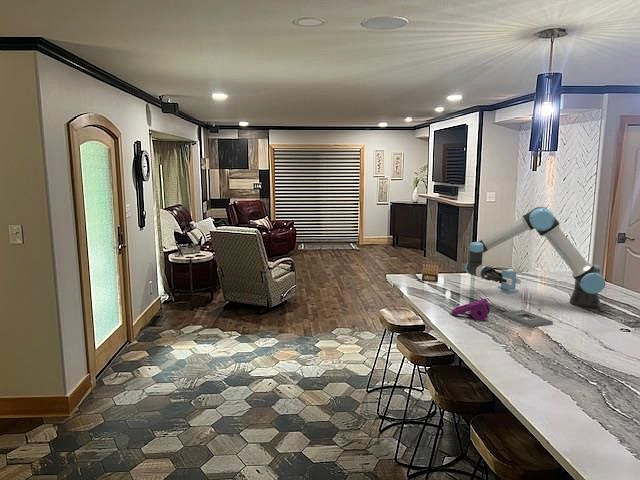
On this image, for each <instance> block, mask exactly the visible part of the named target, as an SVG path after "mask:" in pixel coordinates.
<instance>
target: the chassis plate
mask: <svg viewBox="0 0 640 480" xmlns="http://www.w3.org/2000/svg"><path fill="white" fill-rule="evenodd" d="M501 316H502V317H504V318H507V319H509V320H512V321H514V322H517V323H519V324H522V325H524V326H526V327H529V328H536V327H543V326H550V325H553V324H554V322H553V320H551V319H547V318H545V317H542V316H540V315H537V314H535V313H533V312H529V311H526V310H524V309H519V310H509V311H504V312H503V311H502V312H501ZM526 318H527V319H526Z"/></svg>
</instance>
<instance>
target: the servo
mask: <svg viewBox="0 0 640 480" xmlns="http://www.w3.org/2000/svg"><path fill="white" fill-rule="evenodd" d="M501 270H502V271H501V273H502V277H505V278H508V279H511V280H512V285H509V284H506V283H503V282H502V283H500V285H498V286H497V289H500V292H501V293H503V294H505V295H511V294H514V295H515V293H519V289H516V286H517V285H516V284H517V283H516V278H517V270H514V269H512V268H508V269H501Z"/></svg>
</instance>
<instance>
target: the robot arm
mask: <svg viewBox="0 0 640 480" xmlns="http://www.w3.org/2000/svg"><path fill="white" fill-rule="evenodd" d="M560 224H561V223H560V222H559V220H558V219H557V218H556V217H555V215H554V213H553V212H552V211H551V210H549V209H548V208H547V207H544V206H536V207H535V208H533V209H531V210H530V211H529V212H527V213H525V214H523V215H522V216H521V218H520V219H518V220H516V221H514V222H511V223H510V224H508V225H507V226H505V227H503V228H501V229H499V230H496V231H495V232H493V233H492V234H490V235H488V236H486V237H484V238H482V239H480V240H479V241H473V242H470V244H469V247H468V248H469V249H468V250H469V252H468V253H469V254H468V261H467V262H466V263H465V265H464V271H465V273H467V274H468V275H471V276H474V277H478V278H480V279H482V280H486V281H492V282H496V283H499V284H501V283H502V282H503V283H506V284H509V285H512V280H511V279H508V278H505V277H502V272H499V271H496V269H495V268H494V267H493V266H492V267H491V266H488V265H484V264H483V259H484V258H483V256H484V254H485V253H486V252H488V251H490V250H492V249H494V248H496V247H498V246H500V245H501V244H504V243H506V242H507V241H510V240H511V239H513V238H516V237H517V236H519V235H521V234H523V233H525V232H527V231H532V230H535V231H536V232H537V233H538V235H539V236H540V237H544V238H545V239H546V240H547V241H548V243H550V245H551V246H552V247H553V248H554V250H555V251H556V253H557V254H558V255H559V257H560V258H561V259H562V260H563V261H564V262H565V264H566V265H567V266H568V268H569V269H570V270H571V271H572V277H573V279H574V288H573V290H572V294H571V296H570V298H569V303H570V304H571V305H573V306H576V307H582V308H586V309H587V308H588V309H589V308H590V309H594V308H595V309H596V308H597V309H598V308H600V307H601V301H600V296H599V293H601V292H602V291H603V290H604V289H605V287H606V279H605V277H604V276H603V275H602V274H601V267H600V265H596V264H593V263H588V261H587V260H585V258H584V257H583V255H582V254H581V253H580V252H579V250H578V249H577V248H576V247H575V246H574V244H573V242H572V241H571V240H570V239H569V238H568V236H567V235H566V234H565V233H564V231H563V230H562V229H561V228H560ZM516 284H518V285H521V284H522V279H521V278H519V277H516Z"/></svg>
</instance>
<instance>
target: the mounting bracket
mask: <svg viewBox="0 0 640 480" xmlns="http://www.w3.org/2000/svg"><path fill="white" fill-rule="evenodd" d="M490 312H491V307H490V304H489V303H488V300H487V298H486V297H485V298H482V299H478V300H476V301H472V302H468V303H467V304H466V303H465V304H463V305H460V306H459V305H458V306H457V307H455V308H453V309H452V310H451V313H452V315H453V316H457V315H461V314H464V313H470V315H471V317H472V318H473V319H474V320H475V321H484V320H486V319H487V317H488V315H489V314H490Z"/></svg>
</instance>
